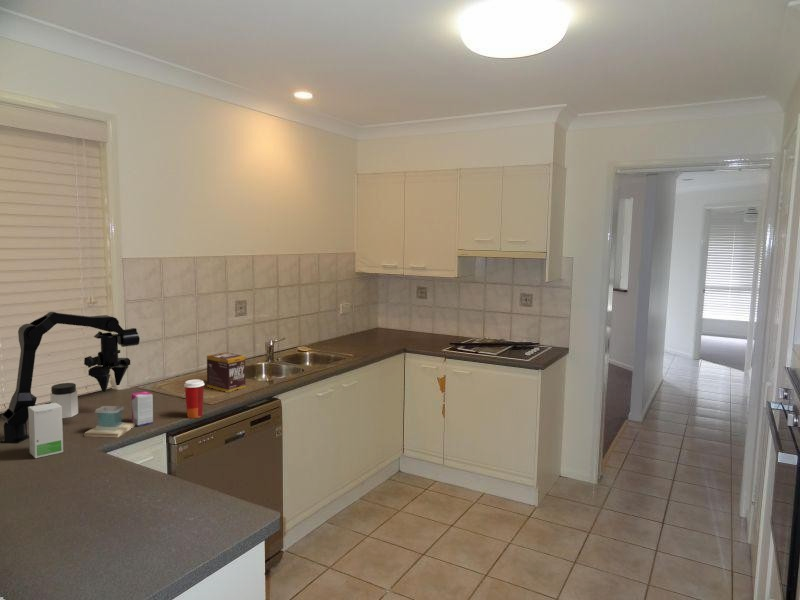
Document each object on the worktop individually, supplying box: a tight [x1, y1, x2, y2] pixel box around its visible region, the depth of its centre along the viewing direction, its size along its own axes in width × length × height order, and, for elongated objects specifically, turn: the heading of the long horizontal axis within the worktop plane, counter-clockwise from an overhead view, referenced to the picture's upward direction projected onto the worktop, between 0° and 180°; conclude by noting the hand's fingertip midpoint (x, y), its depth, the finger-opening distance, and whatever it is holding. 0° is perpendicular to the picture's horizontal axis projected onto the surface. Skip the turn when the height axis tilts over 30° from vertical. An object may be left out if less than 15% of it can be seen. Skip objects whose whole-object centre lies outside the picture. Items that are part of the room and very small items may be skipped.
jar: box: [50, 382, 79, 419], centre depth 211 cm, size 9×8×12 cm
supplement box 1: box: [131, 391, 154, 427], centre depth 204 cm, size 6×6×12 cm
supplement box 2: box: [206, 351, 247, 392], centre depth 254 cm, size 10×15×16 cm
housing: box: [94, 405, 125, 430], centre depth 196 cm, size 8×5×7 cm, turn 88°
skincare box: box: [28, 402, 64, 459], centre depth 175 cm, size 8×7×16 cm
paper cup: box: [183, 379, 206, 419], centre depth 214 cm, size 8×8×14 cm
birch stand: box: [83, 421, 136, 438], centre depth 196 cm, size 12×12×1 cm
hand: (111, 388), depth 208 cm, fingers open, 9 cm apart
